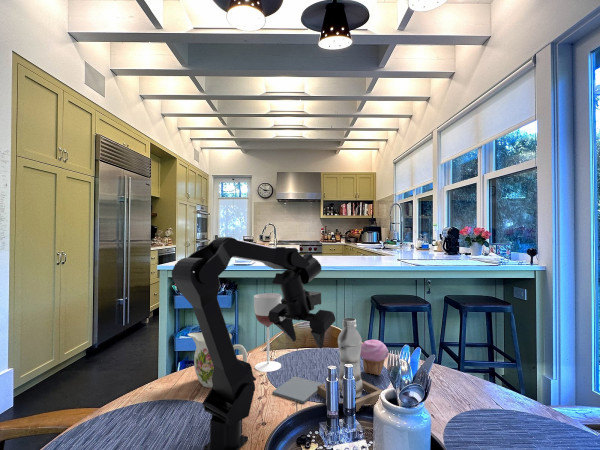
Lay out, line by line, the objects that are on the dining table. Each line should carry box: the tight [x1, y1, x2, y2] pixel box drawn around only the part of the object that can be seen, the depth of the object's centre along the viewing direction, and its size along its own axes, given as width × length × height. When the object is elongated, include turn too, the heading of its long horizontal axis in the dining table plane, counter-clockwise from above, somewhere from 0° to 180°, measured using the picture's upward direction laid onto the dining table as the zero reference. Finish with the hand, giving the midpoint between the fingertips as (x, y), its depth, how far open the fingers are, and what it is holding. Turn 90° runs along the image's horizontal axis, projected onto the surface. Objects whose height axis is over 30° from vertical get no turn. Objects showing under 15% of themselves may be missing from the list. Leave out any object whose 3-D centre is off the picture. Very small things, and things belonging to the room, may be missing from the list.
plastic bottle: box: [337, 317, 363, 400], centre depth 83 cm, size 6×7×20 cm
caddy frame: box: [317, 378, 384, 413], centre depth 82 cm, size 12×12×2 cm
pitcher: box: [187, 331, 248, 389], centre depth 91 cm, size 11×18×14 cm, turn 83°
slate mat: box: [272, 376, 323, 404], centre depth 86 cm, size 11×10×1 cm
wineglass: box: [253, 292, 283, 373], centre depth 103 cm, size 9×10×23 cm
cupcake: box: [360, 339, 389, 376], centre depth 97 cm, size 9×9×10 cm
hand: (307, 344), depth 84 cm, fingers open, 9 cm apart
